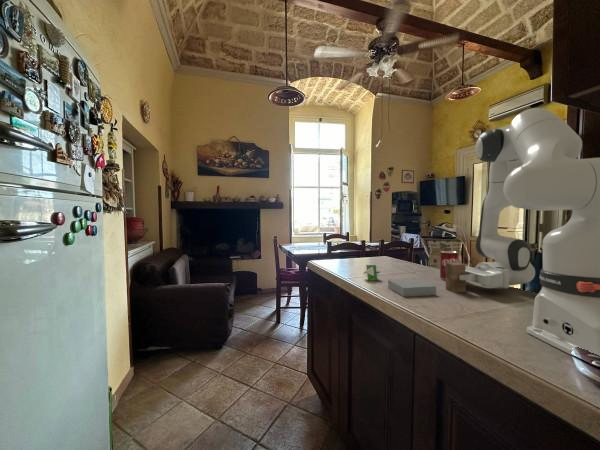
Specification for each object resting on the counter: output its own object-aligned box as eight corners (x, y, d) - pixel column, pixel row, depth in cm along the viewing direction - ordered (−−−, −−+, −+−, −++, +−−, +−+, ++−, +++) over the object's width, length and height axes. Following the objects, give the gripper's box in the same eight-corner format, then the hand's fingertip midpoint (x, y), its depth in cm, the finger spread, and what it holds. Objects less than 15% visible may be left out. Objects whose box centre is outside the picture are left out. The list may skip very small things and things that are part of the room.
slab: (436, 294, 89) (436, 286, 89) (403, 296, 88) (403, 287, 88) (417, 286, 101) (417, 278, 101) (388, 287, 100) (388, 280, 100)
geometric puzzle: (361, 272, 119) (363, 260, 114) (376, 272, 119) (379, 260, 114) (364, 284, 114) (366, 272, 109) (380, 284, 113) (382, 272, 108)
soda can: (462, 280, 108) (462, 252, 108) (445, 281, 108) (445, 253, 108) (452, 277, 115) (452, 250, 115) (436, 277, 115) (436, 251, 115)
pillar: (465, 291, 92) (465, 264, 92) (454, 292, 91) (453, 264, 91) (457, 288, 96) (456, 262, 96) (445, 289, 96) (445, 262, 96)
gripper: (466, 261, 105) (435, 262, 104) (512, 270, 85) (474, 272, 84) (467, 276, 105) (435, 277, 104) (512, 289, 85) (474, 291, 84)
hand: (453, 275), depth 94 cm, fingers closed on pillar, 4 cm apart
